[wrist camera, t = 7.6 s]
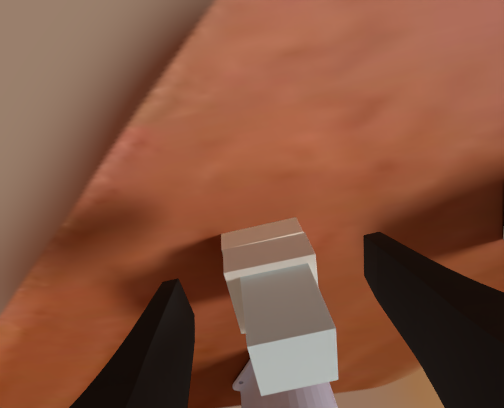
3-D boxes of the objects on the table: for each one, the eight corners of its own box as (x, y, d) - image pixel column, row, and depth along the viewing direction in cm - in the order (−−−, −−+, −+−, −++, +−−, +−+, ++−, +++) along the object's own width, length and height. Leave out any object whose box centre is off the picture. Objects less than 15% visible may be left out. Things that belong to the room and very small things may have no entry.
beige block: (311, 292, 23) (320, 317, 21) (239, 307, 23) (241, 334, 21) (304, 232, 21) (315, 254, 18) (223, 249, 20) (223, 273, 18)
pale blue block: (312, 310, 21) (338, 379, 16) (252, 323, 21) (261, 396, 16) (307, 263, 19) (335, 328, 14) (240, 277, 19) (247, 347, 14)
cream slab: (302, 270, 26) (311, 291, 23) (237, 285, 25) (239, 307, 23) (294, 214, 23) (303, 231, 20) (221, 230, 23) (221, 250, 20)
